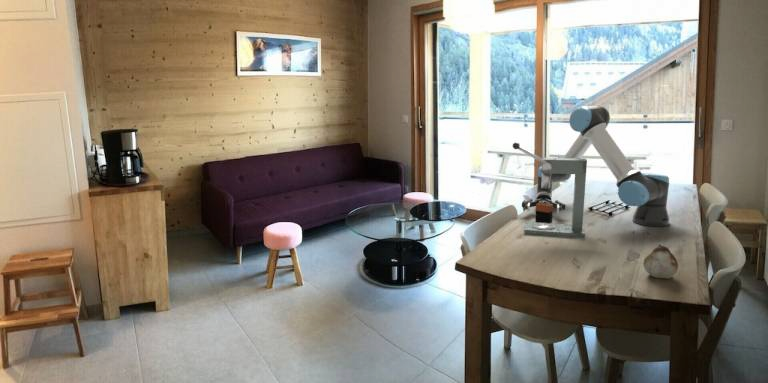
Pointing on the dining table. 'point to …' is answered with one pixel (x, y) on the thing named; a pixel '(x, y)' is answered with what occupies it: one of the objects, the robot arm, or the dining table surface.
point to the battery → (544, 212)
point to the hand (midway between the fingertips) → (543, 209)
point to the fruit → (661, 263)
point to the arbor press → (576, 228)
